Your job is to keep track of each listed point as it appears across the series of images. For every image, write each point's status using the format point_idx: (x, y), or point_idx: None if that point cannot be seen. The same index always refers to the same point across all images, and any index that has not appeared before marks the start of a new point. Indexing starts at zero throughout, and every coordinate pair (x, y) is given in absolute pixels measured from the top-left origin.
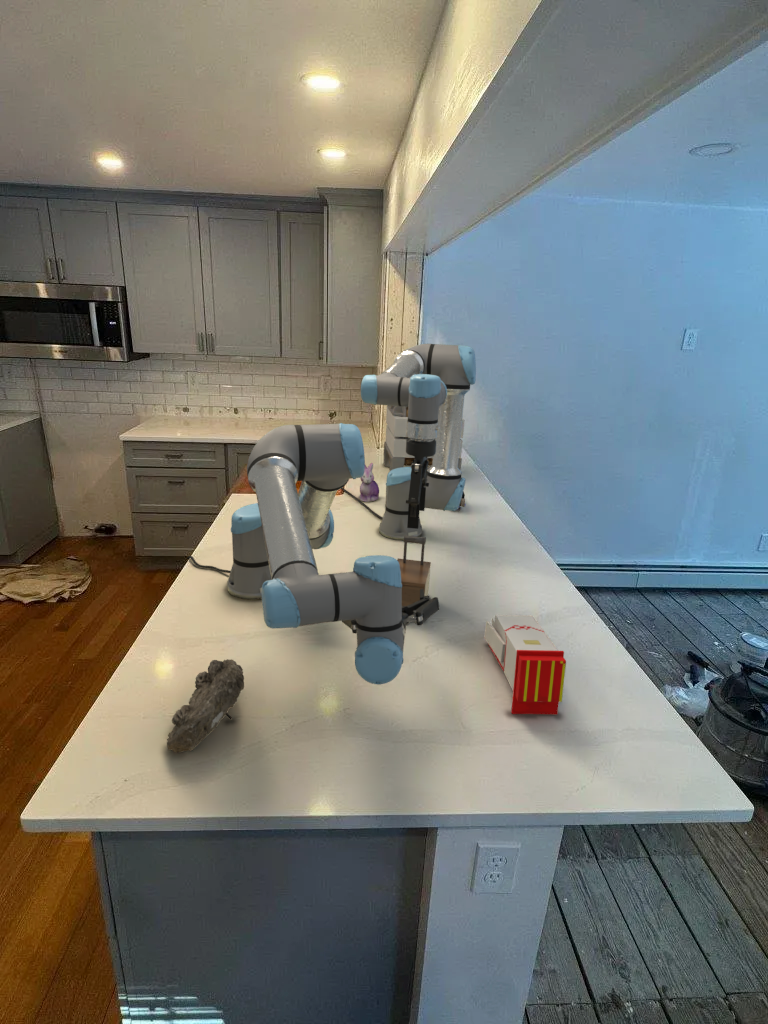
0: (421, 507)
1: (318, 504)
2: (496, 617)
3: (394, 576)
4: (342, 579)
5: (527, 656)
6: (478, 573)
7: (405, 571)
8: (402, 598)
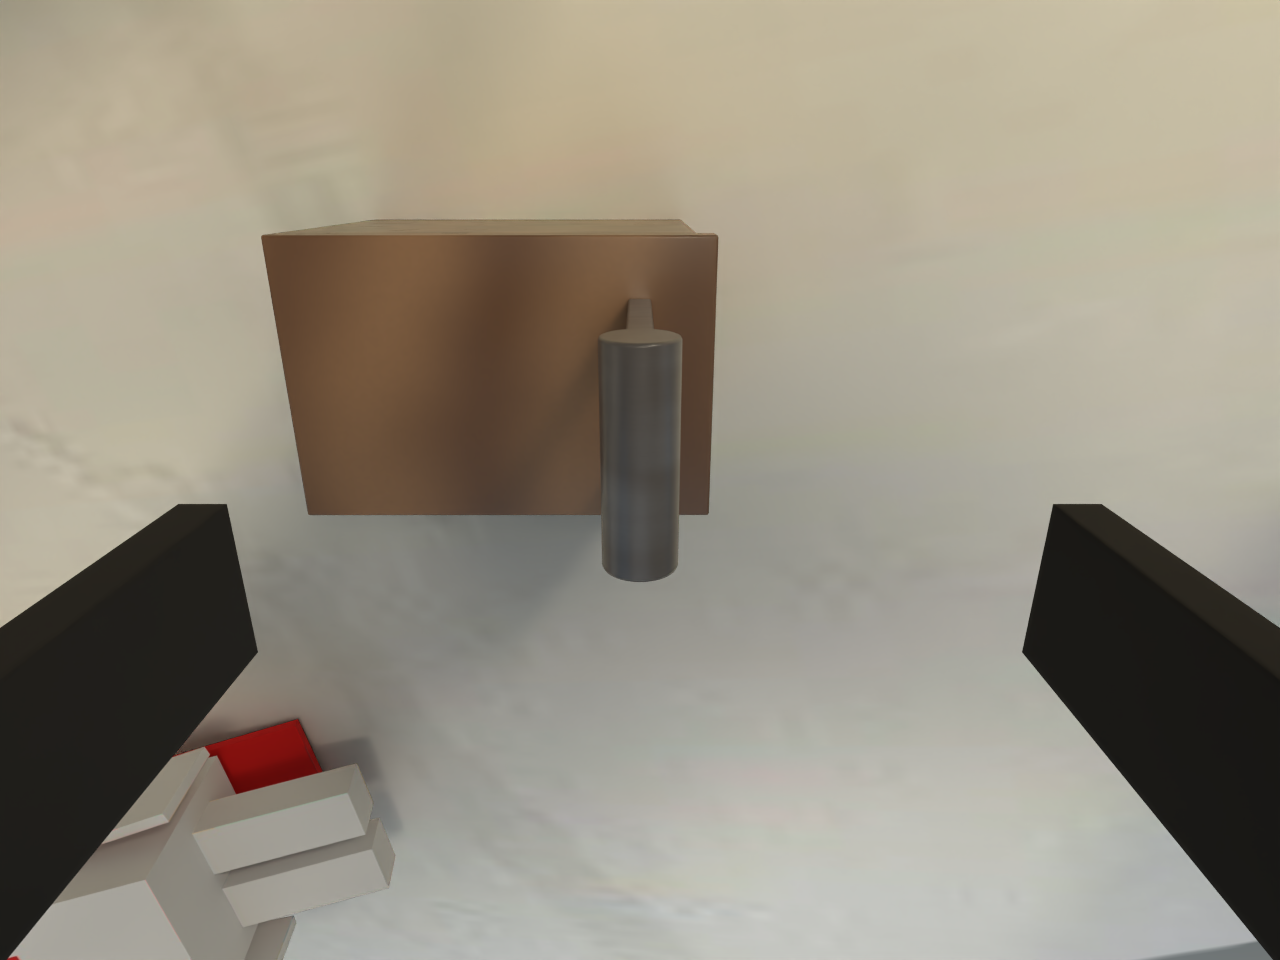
0: (1058, 644)
1: None
2: (118, 884)
3: None
4: None
5: None
6: (1033, 667)
7: (468, 343)
8: None
